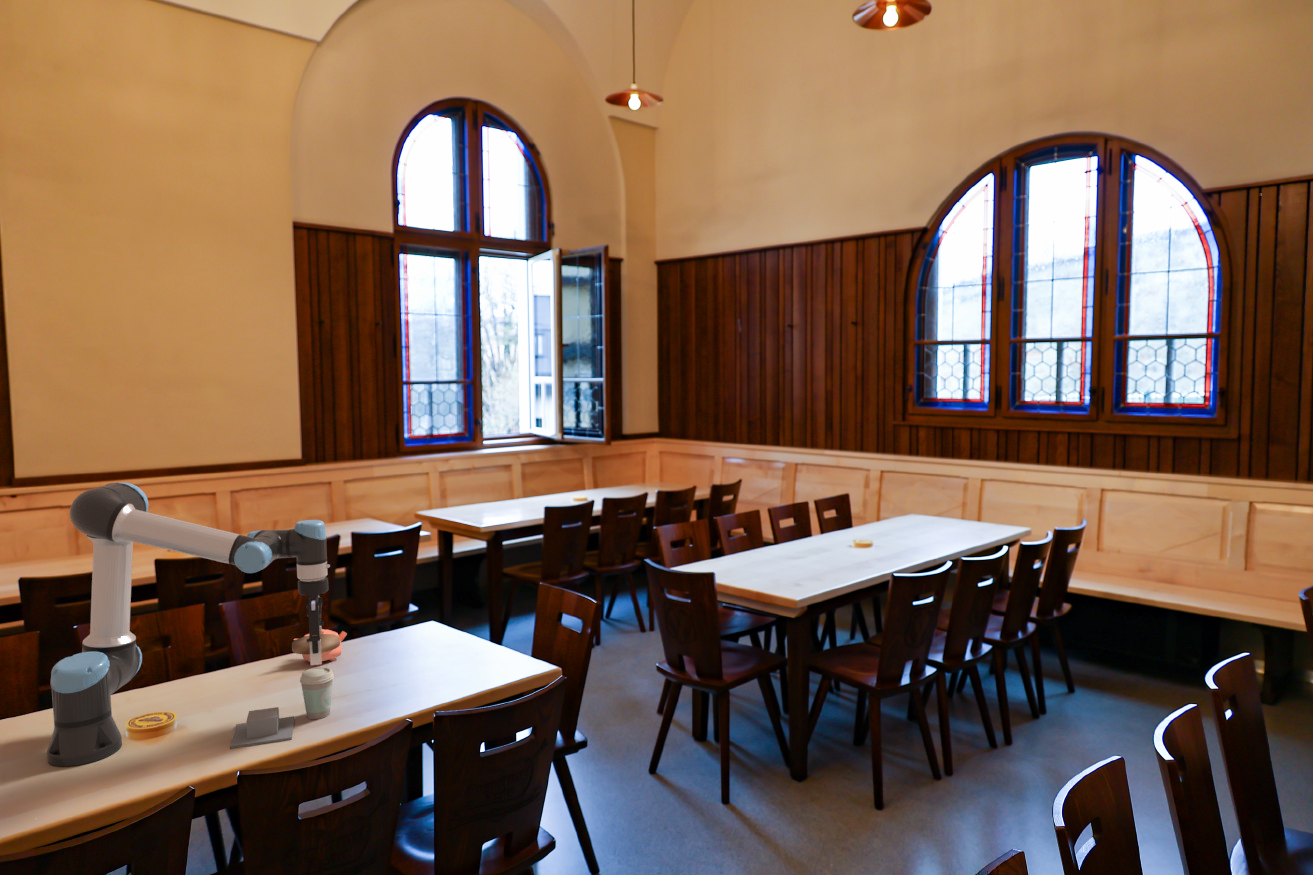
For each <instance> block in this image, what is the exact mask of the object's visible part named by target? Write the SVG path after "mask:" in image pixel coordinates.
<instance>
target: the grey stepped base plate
mask: <svg viewBox="0 0 1313 875" xmlns="http://www.w3.org/2000/svg"><path fill="white" fill-rule="evenodd" d="M279 709H280V708H279V706H276V707H269V708H262V709H255V710H249V711H248V714H247V717H246V720H245V721H246V722H243V723H236V724H235V728H234V732H233V734H232V738H231V740H230V741H231V742H230V744H229V749H230V750H232V749H236V748H237V749H238V748H245V747H251V746H258V745H265V744H270V743H271V744H272V743H278V742H284V741H292V739H293V733H294V732H293V731H294V726H295V715H294V716H293V715H292V716H288V717H287V716H286V717H280V710H279Z"/></svg>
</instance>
